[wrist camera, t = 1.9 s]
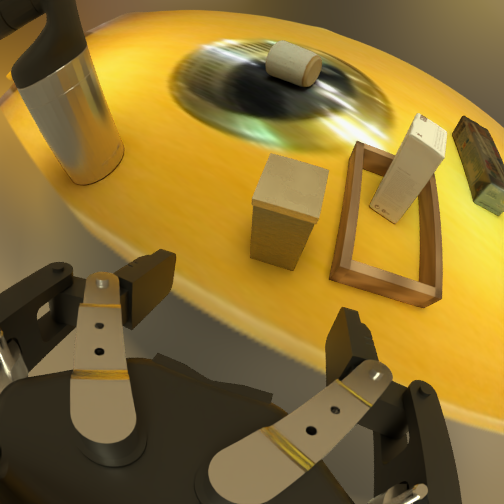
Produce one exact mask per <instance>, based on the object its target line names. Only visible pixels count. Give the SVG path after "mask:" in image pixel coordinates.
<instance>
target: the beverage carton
mask: <svg viewBox="0 0 504 504" xmlns="http://www.w3.org/2000/svg"><path fill="white" fill-rule="evenodd" d="M452 135H453V138H454V140H455V143H456V146H457V149H458V151H459V154H460V157H461V160H462V164H463V167H464V170H465V173H466V177H467V180H468V184H469V187H470V190H471V194H472V198H473V202H474V203H475V204H478V205H479V206H481V207H483V208H485V209H487V210H489V211H490V212H492V213H494V214H496V215H498V216H499V215H500V214H501V213H502V212H504V164H503V161H502V159H501V156H500V154H499V152H498V150H497V148H496V145H495V143H494V141H493V139H492V137H491V135H490V133H489V131H488V130H487V129H486V128H483V127H482V126H480V125H479V124H478V123H476V122H474V121H472V120H470V119H469V118H467V117H466V116H462V117H461V119H460V121H459V122H458V124H457V126H456V128H455V129H454V131H453V133H452Z"/></svg>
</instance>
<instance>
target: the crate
mask: <svg viewBox="0 0 504 504" xmlns="http://www.w3.org/2000/svg"><path fill="white" fill-rule="evenodd" d="M394 157H395V155H393V154H390V153H388V152H385V151H383V150H380V149H378V148H375V147H372V146H370V145H367V144H364V143H361V142H359V141H357V142H356V144H355V146H354V149H353V151H352V153H351V156H350V158H349V165H348V173H347V180H346V187H345V194H344V201H343V207H342V213H341V219H340V225H339V231H338V236H337V242H336V247H335V252H334V257H333V262H332V267H331V272H330V276H329V280H332V281H336V282H339V283H342V284H346V285H349V286H352V287H355V288H359V289H362V290H365V291H369V292H372V293H375V294H379V295H382V296H385V297H388V298H392V299H395V300H398V301H402V302H405V303H408V304H412V305H415V306H418V307H422V308H425V307H427V306H429V305H431V304H433V303H435V302H437V301H439V300H441V299H442V278H443V263H442V235H441V222H440V211H439V202H438V194H437V187H436V180H435V174H433V175H432V177H431V178H430V179H429V181H428V182H427V184H426V185H425V186H424V188H423V189H422V191H421V192H420V193H419V195H418V197H419V215H420V272H419V282H417V281H414V280H411V279H408V278H405V277H402V276H399V275H396V274H393V273H390V272H387V271H384V270H381V269H378V268H375V267H372V266H369V265H366V264H363V263H360V262H357V261H354V260H352V254H353V247H354V241H355V234H356V226H357V219H358V210H359V201H360V191H361V180H362V168H363V169H365V170H368V171H371V172H373V173H376V174H379V175H381V176H385V174H386V172H387V170H388V169H389V167H390V165H391V163H392V161H393V159H394Z"/></svg>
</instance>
